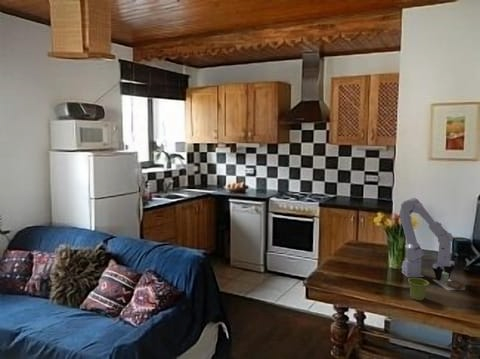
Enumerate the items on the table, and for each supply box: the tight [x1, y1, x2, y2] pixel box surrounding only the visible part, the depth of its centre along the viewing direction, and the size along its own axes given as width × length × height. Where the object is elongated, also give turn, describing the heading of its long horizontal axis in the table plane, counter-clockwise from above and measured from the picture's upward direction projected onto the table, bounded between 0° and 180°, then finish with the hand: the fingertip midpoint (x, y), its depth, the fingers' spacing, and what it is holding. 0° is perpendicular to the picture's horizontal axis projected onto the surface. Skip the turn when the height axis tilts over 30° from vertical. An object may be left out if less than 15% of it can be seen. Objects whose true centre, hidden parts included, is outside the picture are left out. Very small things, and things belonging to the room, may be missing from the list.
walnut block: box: [447, 279, 466, 291], centre depth 210 cm, size 6×6×2 cm
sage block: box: [437, 271, 450, 283], centre depth 217 cm, size 4×4×5 cm
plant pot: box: [407, 277, 430, 301], centre depth 197 cm, size 9×9×9 cm
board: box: [432, 278, 466, 291], centre depth 213 cm, size 10×14×1 cm
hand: (442, 279), depth 217 cm, fingers open, 6 cm apart
